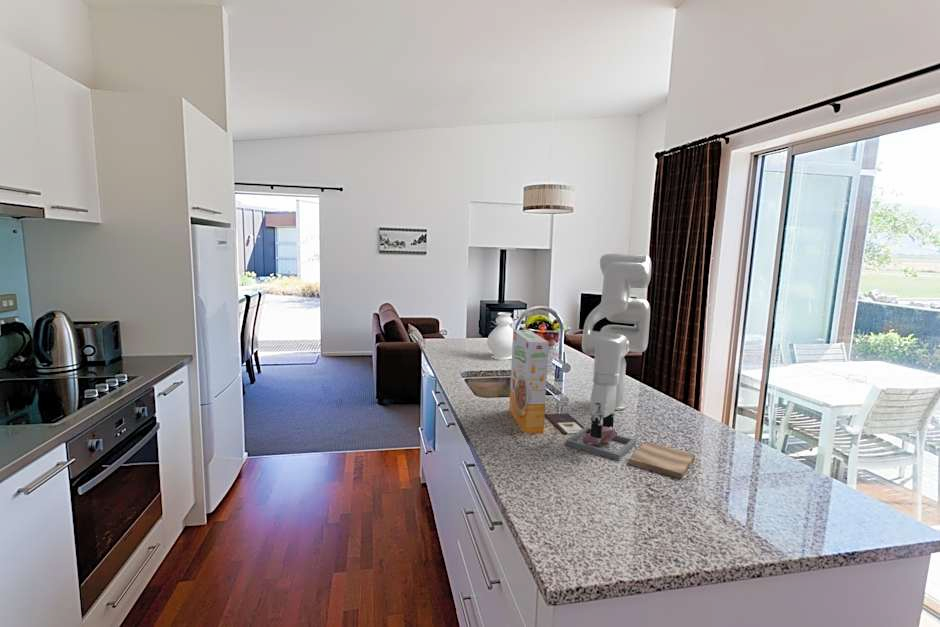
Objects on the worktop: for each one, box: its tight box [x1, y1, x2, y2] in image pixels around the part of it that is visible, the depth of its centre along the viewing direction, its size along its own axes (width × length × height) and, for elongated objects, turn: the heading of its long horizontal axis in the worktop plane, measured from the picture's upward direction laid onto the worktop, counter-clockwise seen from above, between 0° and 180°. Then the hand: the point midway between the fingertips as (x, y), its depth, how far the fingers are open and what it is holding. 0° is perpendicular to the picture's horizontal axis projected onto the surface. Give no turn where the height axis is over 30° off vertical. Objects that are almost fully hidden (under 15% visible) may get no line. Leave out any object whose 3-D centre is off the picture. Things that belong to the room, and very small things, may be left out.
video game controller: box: [582, 426, 618, 446], centre depth 146 cm, size 10×5×7 cm, turn 118°
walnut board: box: [628, 441, 696, 480], centre depth 135 cm, size 16×14×2 cm
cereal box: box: [508, 329, 550, 434], centre depth 162 cm, size 22×6×30 cm, turn 8°
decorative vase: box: [486, 311, 514, 359], centre depth 260 cm, size 18×18×25 cm
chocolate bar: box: [544, 413, 590, 436], centre depth 162 cm, size 9×1×18 cm
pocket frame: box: [565, 426, 637, 461], centre depth 146 cm, size 15×16×2 cm
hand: (601, 432), depth 145 cm, fingers closed on video game controller, 9 cm apart
